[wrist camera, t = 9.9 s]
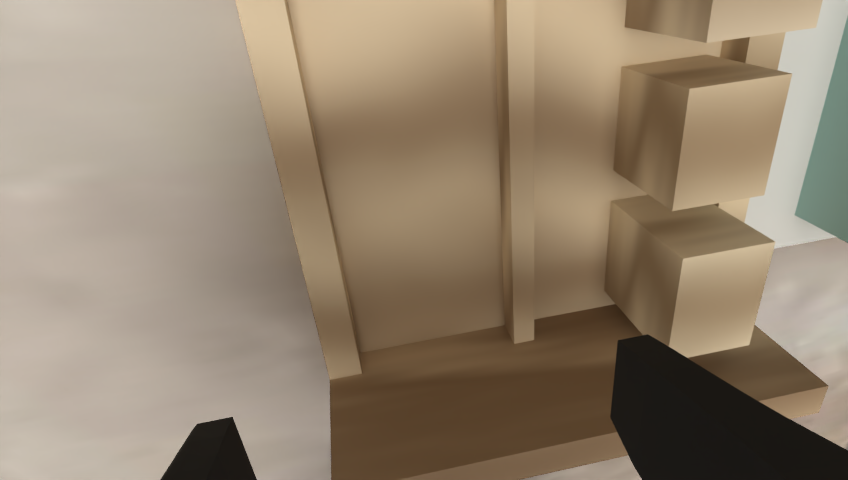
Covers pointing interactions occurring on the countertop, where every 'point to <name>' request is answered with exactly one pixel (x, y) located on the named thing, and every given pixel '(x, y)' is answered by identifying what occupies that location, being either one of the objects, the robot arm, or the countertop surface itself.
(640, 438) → the robot arm
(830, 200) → the board
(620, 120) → the block
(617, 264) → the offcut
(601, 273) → the rack
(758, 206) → the mat
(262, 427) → the countertop surface
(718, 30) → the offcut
